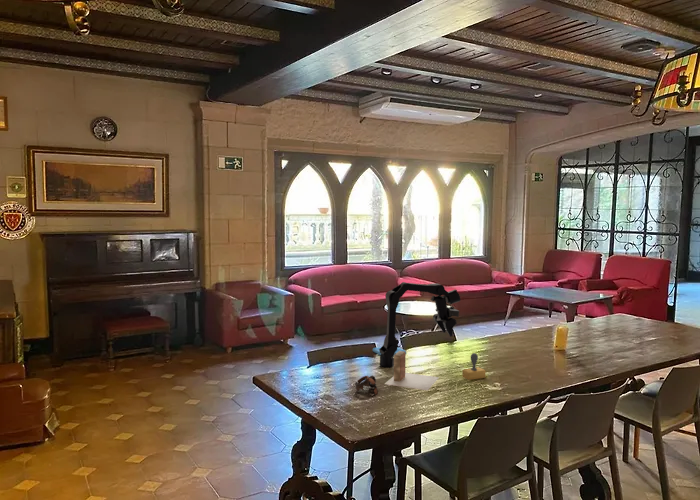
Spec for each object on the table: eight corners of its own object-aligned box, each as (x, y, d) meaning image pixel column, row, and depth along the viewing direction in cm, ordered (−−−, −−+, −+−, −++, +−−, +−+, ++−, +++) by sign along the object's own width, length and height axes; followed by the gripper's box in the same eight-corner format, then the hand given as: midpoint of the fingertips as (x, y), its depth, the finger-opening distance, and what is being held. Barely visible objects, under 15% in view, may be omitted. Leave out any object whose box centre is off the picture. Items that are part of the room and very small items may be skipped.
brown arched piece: (375, 398, 231) (365, 382, 231) (358, 403, 236) (349, 388, 235) (384, 383, 242) (375, 368, 241) (368, 388, 246) (359, 374, 246)
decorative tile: (384, 358, 293) (384, 354, 292) (372, 352, 305) (372, 348, 305) (406, 355, 299) (406, 351, 298) (394, 349, 311) (394, 345, 311)
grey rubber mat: (384, 384, 247) (384, 383, 247) (398, 372, 265) (398, 371, 265) (427, 391, 238) (427, 390, 238) (439, 378, 256) (439, 377, 256)
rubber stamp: (468, 380, 254) (469, 355, 253) (461, 376, 259) (462, 352, 258) (485, 377, 258) (486, 353, 257) (478, 374, 263) (479, 350, 262)
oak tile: (393, 380, 251) (393, 355, 250) (399, 375, 258) (399, 350, 257) (400, 381, 250) (400, 355, 249) (405, 376, 257) (405, 351, 256)
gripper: (462, 305, 271) (469, 334, 273) (448, 299, 290) (454, 326, 292) (443, 311, 269) (449, 340, 271) (430, 305, 288) (436, 332, 290)
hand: (447, 334), depth 281 cm, fingers open, 9 cm apart
